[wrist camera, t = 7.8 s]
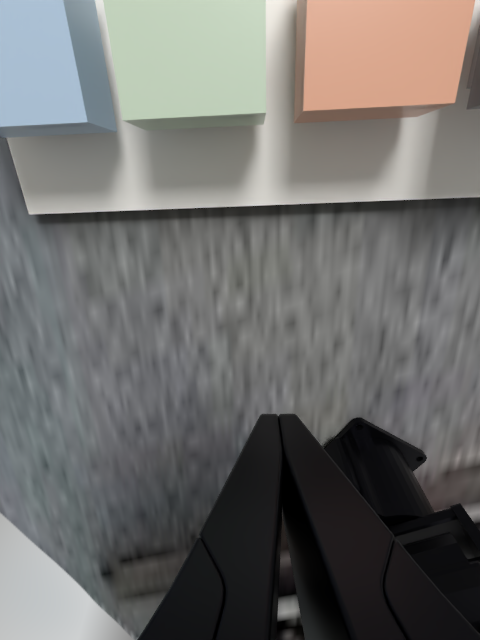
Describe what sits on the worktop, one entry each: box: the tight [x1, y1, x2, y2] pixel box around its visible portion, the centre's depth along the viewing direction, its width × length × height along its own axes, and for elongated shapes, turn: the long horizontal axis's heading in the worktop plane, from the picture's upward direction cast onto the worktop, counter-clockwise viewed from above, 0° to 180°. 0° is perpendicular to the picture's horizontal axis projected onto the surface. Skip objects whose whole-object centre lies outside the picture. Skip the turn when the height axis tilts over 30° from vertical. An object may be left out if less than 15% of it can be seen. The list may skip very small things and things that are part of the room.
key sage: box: [103, 0, 266, 131], centre depth 12 cm, size 5×5×3 cm
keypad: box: [7, 0, 480, 214], centre depth 13 cm, size 26×12×4 cm, turn 92°
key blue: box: [0, 0, 117, 138], centre depth 12 cm, size 5×5×3 cm
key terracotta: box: [294, 0, 475, 123], centre depth 11 cm, size 5×5×3 cm
